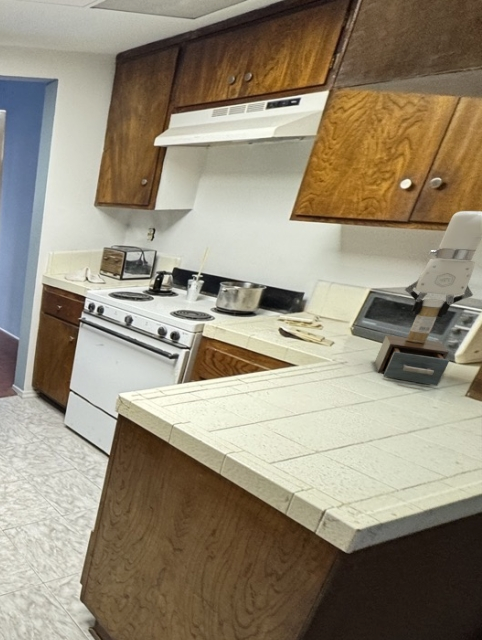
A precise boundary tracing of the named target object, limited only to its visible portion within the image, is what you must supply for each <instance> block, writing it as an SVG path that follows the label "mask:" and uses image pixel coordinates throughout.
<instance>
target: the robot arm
mask: <svg viewBox="0 0 482 640" xmlns="http://www.w3.org/2000/svg"><path fill="white" fill-rule="evenodd" d="M481 240H482V211H479V210H463V211H462V210H461V211H457V212H455V213H453V215H452V217H451V219H450V220H449V223H448V224H447V228H446V230H445V232H444V235H443V237H442V239H441V241H440V244H439V246H438V248H437V249H430V250H429V252H428V255H430V256H433V258H430V259H429V260H428V262H427V263H426V265H425V266H424V268H423V269H422V272H421V273H420V276H419V277H418V279H417V280H416V281H414V282H413V283H411V284H409V285H408V286H406V287H404V291H406V293H407V294H409V295H410V296H411V297H412V298H413V299H414V303H413V306H412V307H411V312H412V314H413V315H415V316H417V315H418V313H419V310H420V308H421V306H422V304H423V302H422V301H423V299H425V297H426V296H427V295H428V294H435V295H444V296H445V301H444V304H443V306H442V307H441V309H440V311H439V313H438V315H437V318H442V317H443V316H447V313H448V311H449V309H450V307H451V305H453V304H455V303H457V302H460V301H462V300H465V299H468V298H471V297H473V295H474V293H473V292H472V290H471V289H470V287H469V283H470V280H471V278H472V275H473V271H474V267H475V263H476V262H475V261H474V260H473V257H474V255H475V253H476V251H477V249H478V246H479V244H480V243H481ZM414 289H415V290H416V291H418V292H419V293H417V292H416V291H415V290H414Z"/></svg>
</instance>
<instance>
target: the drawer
mask: <svg viewBox="0 0 482 640" xmlns="http://www.w3.org/2000/svg"><path fill="white" fill-rule="evenodd" d="M449 363H450V359H447V358H446V359H444V358H443V357H442V356H441V354H440V353H434V352H427V351H420V350H413V349H406V348H399V347H392V350H391V352H390V354H389V357H388V359H387V361H386V363H385V366H384V368H385V373H383V377H384V378H390V379H396V380H403V381H408V382H413V383H418V384H419V383H421V384H425V385H432V386H437V387H438V385H439V384H440V381H441V379H442V377H443V375H444V373H445V371H446V369H447V368H448V365H449Z"/></svg>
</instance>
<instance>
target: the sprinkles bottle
mask: <svg viewBox="0 0 482 640" xmlns="http://www.w3.org/2000/svg"><path fill="white" fill-rule="evenodd" d="M422 302H423V304H422V306H421V308H420V310H419V313H418V315H415V318H414V320H413V323H412V325H411V327H410V330H409V332H408V335H407V336H406V338H407V339H406V340H407V341H410V342H414V343H426V340H427V341H428V337H429V335H430V333H431V331H432V330H433V327H434V324H435V322H436V319H437V318H438V316H437V315H438V313H439V311H440V309H441V307H442V306H443V304H444V302H445V301H444V300H441V299H433V298H423V299H422Z"/></svg>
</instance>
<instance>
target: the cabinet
mask: <svg viewBox="0 0 482 640" xmlns="http://www.w3.org/2000/svg"><path fill="white" fill-rule="evenodd" d="M406 339H407V337H403V336H398V335H397V336H395V335H389V334H386V335H385V337H384V339H383V342H382V344H381V346H380V349H379V351H378V352H377V355H376V358H375V359H374V364H375V367H376V370H377V372H378V373H380V374H385V368H384V366H385V363H386V361H387V359H388V357H389V354H390V352H391V350H392V347H399V348H406V349H413V350H420V351H427V352H434V353H440V354H441V356H442V357H443V358H444V359H447V357H448V354H449V351H448V349H447V348H446V347H445V346H444V345H443V343H442V342H441V341H434V340H428V339H427V340H426V343H414V342H410V341H407V340H406Z"/></svg>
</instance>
